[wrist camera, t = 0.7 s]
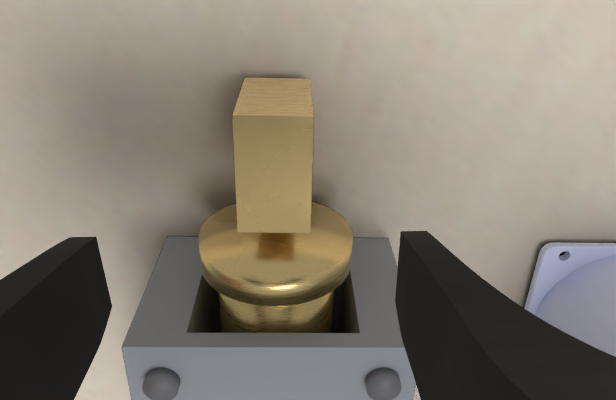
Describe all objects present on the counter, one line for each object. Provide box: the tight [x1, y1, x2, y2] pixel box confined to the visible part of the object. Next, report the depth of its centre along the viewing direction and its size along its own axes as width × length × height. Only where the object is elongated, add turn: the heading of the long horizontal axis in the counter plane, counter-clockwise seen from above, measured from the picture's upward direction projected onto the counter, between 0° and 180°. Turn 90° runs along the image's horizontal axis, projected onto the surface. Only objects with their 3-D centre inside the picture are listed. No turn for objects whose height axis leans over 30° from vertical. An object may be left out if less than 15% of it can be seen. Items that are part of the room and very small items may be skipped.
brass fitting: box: [198, 78, 353, 333], centre depth 20 cm, size 14×6×6 cm, turn 179°
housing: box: [122, 236, 416, 400], centre depth 23 cm, size 10×10×7 cm
